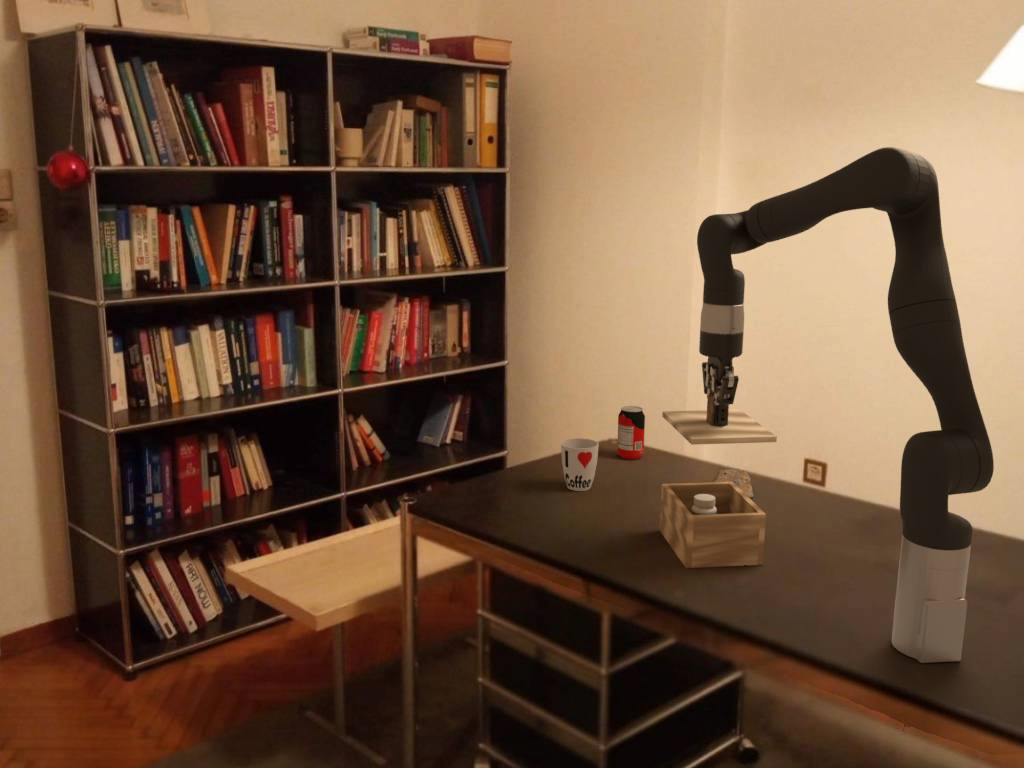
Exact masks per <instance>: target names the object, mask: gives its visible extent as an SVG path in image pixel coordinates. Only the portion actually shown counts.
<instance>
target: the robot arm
mask: <svg viewBox="0 0 1024 768" xmlns="http://www.w3.org/2000/svg"><path fill="white" fill-rule="evenodd" d="M862 209H863V210H864V209H874V210H878V211H881V212H886V213H887V216H888V219H889V223H890V226H891V231H892V236H893V241H894V247H895V250H894V251H895V258H894V264H893V269H892V274H891V278H890V281H889V286H888V292H887V309H888V316H889V321H890V322H889V323H890V327H891V332H892V338H893V341H894V344H895V345H894V346H895V348H896V350H897V352H898V354H899V355H900V357H901V359H902V360H903V361H904V362H905V364H906V365H907V366H908V367H909V368H910V370H911V371H912V372H913V374H914V375H915V376H916V377H917V378H918V379H919V381H920V382H921V383H922V385H923V386H924V387H925V388H926V390H927V392H928V393H929V395H930V397H931V399H932V401H933V402H934V406H935V408H936V411H937V416H938V421H939V424H940V429H939V430H937V429H936V430H928V431H927V430H926V431H920V432H917V433H914V434H913V435H912V436H910V438H909V439H908V440H907V442H906V444H905V446H904V448H903V452H902V458H901V466H900V467H901V468H900V469H901V470H900V492H899V493H900V495H899V496H900V497H899V513H900V517H901V521H902V523H901V524H902V531H901V542H900V550H899V551H900V553H899V562H898V572H897V583H896V589H895V590H896V592H895V602H894V611H893V612H894V614H893V622H892V623H893V624H892V633H891V644H892V646H893V648H895V649H896V651H898V652H899V653H901V654H903V655H905V656H907V657H910V658H913V659H915V660H917V661H918V662H919V663H921V664H927V663H928V664H929V663H943V662H944V663H946V662H960V661H962V653H963V652H962V651H963V643H964V642H963V641H964V633H965V627H966V625H965V624H966V616H967V608H968V600H967V599H966V598H965V597H966V589H967V582H968V571H969V565H970V559H971V558H970V557H971V556H970V555H971V548H972V542H973V525H972V524H971V522H970V521H969V520H968V519H967V518H964V517H962V516H961V515H958V514H956V513H953V512H951V511H949V496H952V495H961V494H970V493H976V492H980V491H983V490H984V489H986V488H987V487H988V485H989V484H990V483H991V481H992V478H993V475H994V468H995V466H994V465H995V464H994V455H993V449H992V444H991V440H990V438H989V433H988V431H987V428H986V424H985V421H984V417H983V414H982V411H981V409H980V404H979V402H978V397H977V395H976V392H975V388H974V384H973V380H972V376H971V372H970V367H969V363H968V358H967V353H966V349H965V345H964V344H965V343H964V338H963V337H964V336H963V332H962V326H961V320H960V316H959V315H960V314H959V309H958V303H957V299H956V294H955V291H954V287H953V283H952V275H951V273H950V267H949V262H948V256H947V252H946V247H945V242H944V237H943V236H944V235H943V228H942V218H941V217H942V216H941V214H942V213H941V203H940V190H939V181H938V176H937V172H936V170H935V168H934V166H933V165H932V163H931V162H930V160H928V158H926V157H924V156H922V155H921V154H918V153H916V152H913V151H909V150H906V149H903V148H899V147H893V146H887V147H886V146H885V147H881V148H878V149H875V150H873V151H871V152H869V153H867V154H865V155H862V156H861V157H859V158H857V159H855V160H854V161H852V162H851V163H848V164H847V165H845V166H843V167H842V168H840V169H837V170H836V171H834V172H831V173H830V174H828V175H826V176H824V177H822V178H820V179H818V180H815V181H813V182H811V183H809V184H806V185H804V186H801V187H799V188H796V189H792V190H790V191H787V192H783V193H781V194H778V195H776V196H772V197H769V198H766V199H764V200H761V201H758V202H757V203H754V204H753V205H751V206H750V208H749V209H746V210H744V211H739V212H736V213H719V214H711V215H708V216H707V217H706V218H704V219H703V220H702V222H701V224H700V226H699V228H698V232H697V235H696V240H697V241H696V245H697V252H698V257H699V262H700V263H699V264H700V266H701V267H700V268H701V271H702V275H703V276H702V277H703V290H702V291H703V293H702V294H703V295H702V307H701V312H700V326H699V327H700V328H699V345H698V346H699V349H698V350H699V351H698V352H699V354H700V355H702V356H704V357H707V361H704V362H702V363H701V369H702V382H703V383H702V384H703V393H704V394H705V395H706V399H707V398H708V395H714V394H715V401H714V403H715V410H714V424H715V425H716V426H726V425H727V412H728V405H729V406H731V405H733V404H734V402H735V397H736V392H737V389H738V383H739V376H738V375H735V367H734V366H733V359H734V358H739V357H740V356H742V355H743V349H744V347H743V346H744V328H745V308H744V307H745V306H744V304H745V287H746V286H745V284H746V283H745V282H746V281H745V280H746V279H745V274H744V273H743V271H741V270H740V269H736V268H734V265H733V264H734V263H733V260H732V255H739V254H743V253H748V252H749V251H752V250H755V249H757V248H760V247H761V246H764V245H765V244H768V243H772V242H776V241H780V240H783V239H786V238H789V237H792V236H797V235H798V234H802V233H804V232H806V231H809V230H811V229H812V228H813V227H816V225H817V224H819V223H821V222H822V221H823V220H825V219H827V218H829V217H831V216H835V215H836V214H839V213H843V212H849V211H856V210H862ZM724 395H725V398H724Z"/></svg>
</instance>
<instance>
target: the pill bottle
mask: <svg viewBox="0 0 1024 768" xmlns="http://www.w3.org/2000/svg"><path fill="white" fill-rule="evenodd" d="M691 514H692V515H705V514H717V509H716V507H715V497H714V496H712V495H709V494H698V495H695V496H694V505H693V506H692V509H691Z"/></svg>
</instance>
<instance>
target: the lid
mask: <svg viewBox="0 0 1024 768" xmlns="http://www.w3.org/2000/svg"><path fill="white" fill-rule="evenodd" d="M724 398H725V395H724ZM706 399H707V401H706V404H707V405H706V409H705V410H703V409H701V410H669V411H668V410H667V411H665V410H664V411H663V410H662V412H661V413H662V414H661V415H662V416H661V417H662V418H664V421H665V420H666V422H667V423H669V424H670V425H671V427H673V428H674V429H675V430H676V431H677V432H678V433H679V434H680V435H681V436H682V437H683V438H684V439H685V440H686V441H687V442H688V443H689V444H690V445H692V446H693V445H718V444H719V445H722V444H724V445H725V444H756V443H757V444H758V443H760V444H761V443H762V444H763V443H777V435H775V434H774V433H773V432H771V431H769V430H768V429H767V428H766V427H764V426H763V425H762V424H761V423H759V422H757V421H756V420H755V419H753V418H752V417H751V416H749V415H748V414H746V413H745V412H744V411H742V410H741V409H739V408H738V409H730V405H728V412H727V425H726V426H716V425H715V424H714V410H715V403H714V401H715V394H714V395H708V398H707V397H706Z"/></svg>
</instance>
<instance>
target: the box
mask: <svg viewBox="0 0 1024 768" xmlns="http://www.w3.org/2000/svg"><path fill="white" fill-rule="evenodd" d="M660 490H661V493H660V495H661V497H660V516H659V517H660V518H659V532H660V533H661V535H662V536H663V537H664V539H665V540H666V542H668V545H669V546H670V548H671V549H672V550H673V552H674V553H675V554H676V556H677V557H678V559H679V560H680V562H681V563H682V564H683V566H684V567H685V569H692V568H693V569H695V568H696V569H697V568H715V567H716V568H718V567H720V568H721V567H742V566H744V565H745V566H746V565H747V566H763V565H764V553H765V552H764V550H765V537H766V523H767V522H766V520H767V514H766V513H765V512H764V511H763V510H762V509H761V507H759V506H758V505H757V504H756V503H755V502H754V501H753V500H752V499H751V498H749V497H748V496H747V495H746V494H745V493H744V492H743V491H742V490H741V489H740V488H739V487H738V486H736V485H735V484H734V483H733V482H712V481H711V482H710V481H709V482H706V481H705V482H683V483H682V482H678V483H677V482H676V483H662V484H661V489H660ZM698 494H709V495H712V496H714V497H715V507H716V509H717V514H705V515H692V514H691V509H692V506H693V505H694V496H695V495H698Z"/></svg>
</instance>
